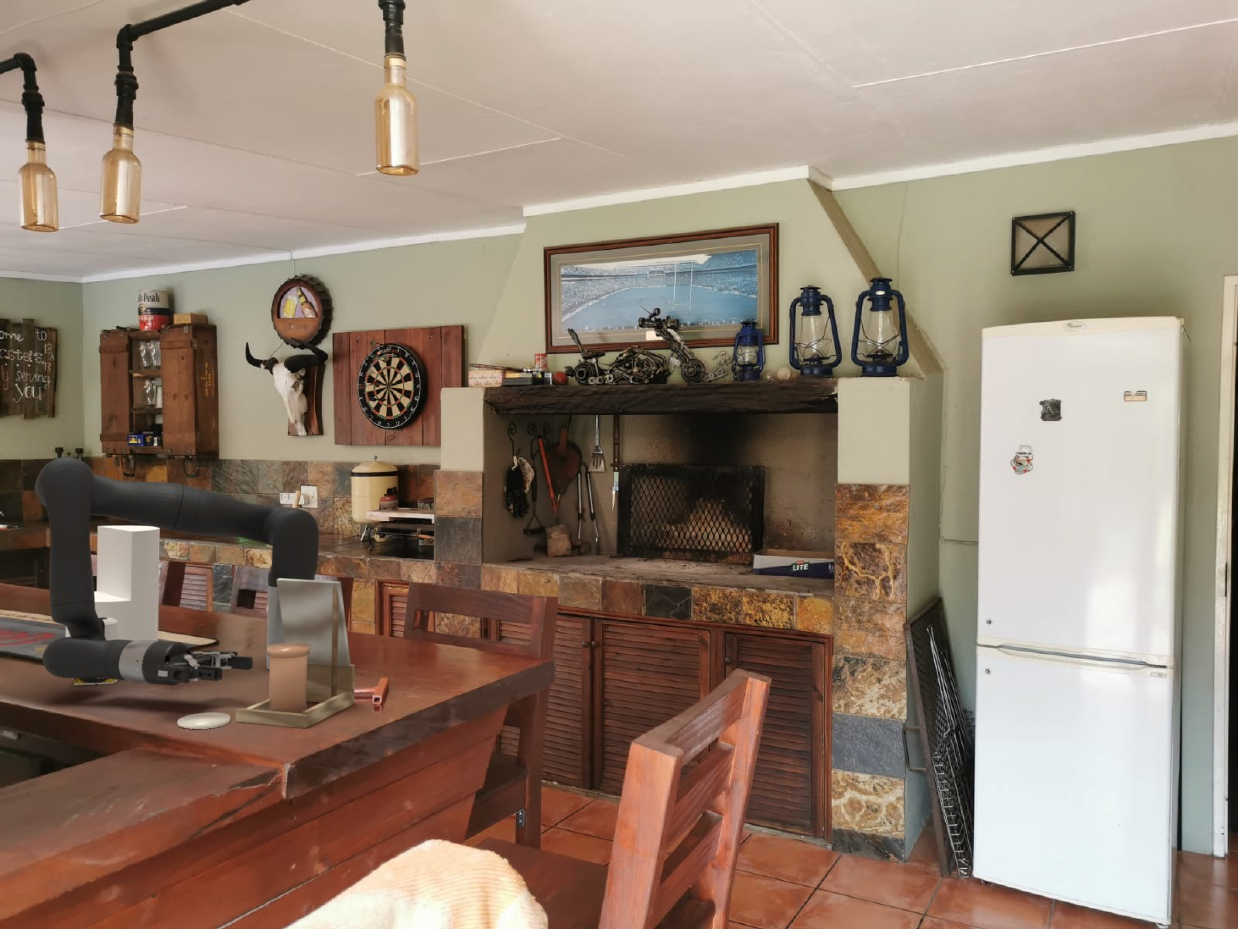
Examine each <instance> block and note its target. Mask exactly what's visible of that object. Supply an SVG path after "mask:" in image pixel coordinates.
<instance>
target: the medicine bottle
mask: <svg viewBox="0 0 1238 929" xmlns="http://www.w3.org/2000/svg"><path fill="white" fill-rule="evenodd" d="M99 620H100V623H101V626H102V629H103V632H104V635H105V638H106V640H116V639H117V638H118V621H117V620H116V619H113V618H99ZM118 681H119V680H115V679H108V678H73V684H74V686H92V685H93V686H94V685H95V684H98V685H113V684H114V683H115V684H116V683H117V682H118Z"/></svg>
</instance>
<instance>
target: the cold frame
mask: <svg viewBox="0 0 1238 929" xmlns="http://www.w3.org/2000/svg"><path fill="white" fill-rule="evenodd" d="M277 587H278V594H279V601H280V608H281V615H282V622H283V629H284V636H285V643H305V644H308V645H310V653H309V654H308V655H307V692H306V702H313V703H314V702H315V703H318V704H316V705H313V706H311V707H309V708H306V710H305V711H303V714H300V713H288V712H277V711H269V698H267V699H265V700H263V701H260V702H258V703H254V704H253V705H250V706H248V707H246V708H242V707H240V708H236V709H235V723H244V722H245V723H247V724H257V725H267V726H279V727H289V728H290V727H291V728H300V729H307V728H309V727H311V726H313V725H315V724H318V723H319V722H321V721H323V720H325V719H327V718H329V717H331V716H333V715H334V714H337V713H339V712H340V711H343V710H345V709H347V708H349V707H350V706H353V705H354V704H355V688H356V687H355V681H356V679H355V677H356V676H355V675H356V673H355V671H356V665H355V664H351V658H350V657H351V656H350V649H349V648H350V646H349V640H348V631H347V630H348V629H347V624H346V616H345V615H346V614H345V607H344V599H343V591H342V589H343V588H342V582H341V581H335V580H316V579H315V580H301V579H283V578H279V579H277Z"/></svg>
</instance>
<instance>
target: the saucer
mask: <svg viewBox="0 0 1238 929" xmlns="http://www.w3.org/2000/svg"><path fill="white" fill-rule="evenodd" d="M230 722H231V716H230V715H229V714H228V713H223V712H201V713H199V712H198V713H194V714H189V715H185V716H183V717H180V718H179V719H177V724H178V726H181V727H184V728H190V729H192V728H193V729H202V730H209V728H211V729H216V728H219V726H220V727H223V726H227V724H229V723H230ZM177 724H176V725H177ZM178 726H177V727H178Z"/></svg>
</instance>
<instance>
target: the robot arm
mask: <svg viewBox="0 0 1238 929" xmlns="http://www.w3.org/2000/svg"><path fill="white" fill-rule="evenodd" d="M34 492H35V496H36V498H37V499H38V501H39V502H40V503H41V505H43V506H44V507H45V508H46V510H47V511H46V512H47V515H48V516H47V517H48V521H49V530H50V531H49V532H50V554H49V569H48V570H49V575H48V581H49V583H48V585H49V586H48V588H49V604H50V616H51V619H52V621H53V622H55V623H56V624H59V625H63V626H65V628H66V627H67V629H68V631H69V633H70V636H71V637H66V636H65V637H59V638H57V639H55V640H54V641H51V643H49V644H48V645H47V646H46V648H45V650H44V651H43V654H42V664H43V666H44V668H45V670H46V671H47V672H48V673H49V674H50V675H52V676H54V677H57V678H62V679H74V678H108V679H115V680H118V681H129V682H133V683H138V684H146V685H155V686H156V685H158V686H170V687H174V686H178V685H179V684H188V683H190V682H191V681H192V682H198V681H200V680H201V681H212V682H219V681H221V680H222V679H223V670H242V671H249V670H252V669H253V665H254V664H253V662H254V660H253V657H252V656H243V655H241V656H240V655H239V653H238V651H237V650H236V651H235V650H233V651H229V650H214V649H208V650H206V652H203V651H193V652H191V650H190V648H189V647H188V646H187V644H185V643H183V642H180V641H166V640H158V641H156V640H140V641H135V640H122V639H117V640H106V638H105V635H104V632H103V629H102V626H101V623H100V620H99V618H98V616H97V613H96V610H95V596H94V592H95V584H94V583H95V582H94V573H93V571H94V570H93V562H92V549H91V532H90V531H91V529H90V528H91V516H101V517H109V518H115V519H118V520H119V519H120V520H123V521H128V522H130V523H131V522H132V523H136V524H140V525H143V526H152V527H157V528H160V529H161V530H162V529H163V530H167V531H171V532H177V533H183V534H188V535H195V536H197V535H198V536H206V537H231V538H233V537H234V538H240V539H246V540H249V541H254V542H257V543H261V544H265V545H267V546H270V547H272V548H271V549H272V552H271V554H272V556H271V567H270V570H268V574H267V610H266V611H267V615H266V618H267V620H266V621H267V622H266V625H267V627H266V629H267V630H266V648H267V647H268V646H271V645H274V644H280V643H285V636H284V629H283V622H282V615H281V608H280V601H279V594H278V587H277V579H279V578H283V579H301V580H316V579H315V578H316V574H317V572H318V566H319V564H318V563H319V544H320V542H319V541H320V531H319V530H320V529H319V524H318V521H317V519H316V518H315V517H314V516H313V515H312V513H310V512H309V511H306V510H304V509H301V508H296V507H290V506H274V505H266V504H265V505H263V504H256V503H250V502H245V501H241V500H239V499H236V498H233V497H230V496H227V495H224V494H221V493H218V492H216V491H211V490H208V489H204V488H199V487H195V486H192V485H191V486H190V485H185V484H180V483H174V482H164V481H162V482H161V481H126V480H121V479H120V480H119V479H115V478H111V477H106V476H103V475H102V476H101V475H99V474H95V473H93V470H92V468H90V465H88V464H87V463H86V462H84V461H83V460H81V459H78V458H76V457H72V456H62V457H58V458H55V459H53V460H51V461H49V462H48V463H47V464H45V465H44V467H43V468H41V470H40V472H39V474H38V476H37V478H36V481H35V483H34ZM265 668H266V669H267V670H269V671H270V657H269V656H268V655H267V654H266V667H265Z"/></svg>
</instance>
